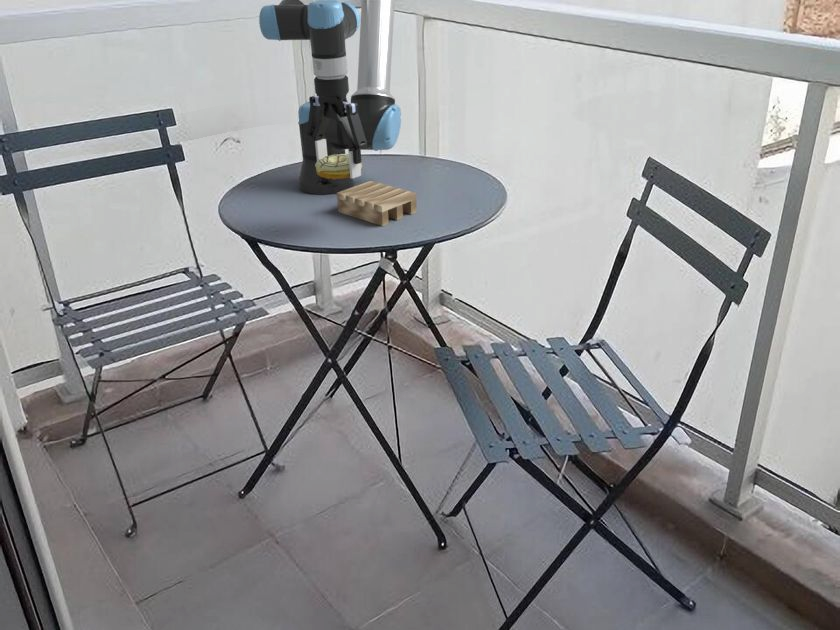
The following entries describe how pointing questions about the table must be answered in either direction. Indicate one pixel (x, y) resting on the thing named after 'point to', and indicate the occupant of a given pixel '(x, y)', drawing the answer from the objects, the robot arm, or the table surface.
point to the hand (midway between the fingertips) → (339, 171)
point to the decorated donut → (334, 166)
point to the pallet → (376, 202)
